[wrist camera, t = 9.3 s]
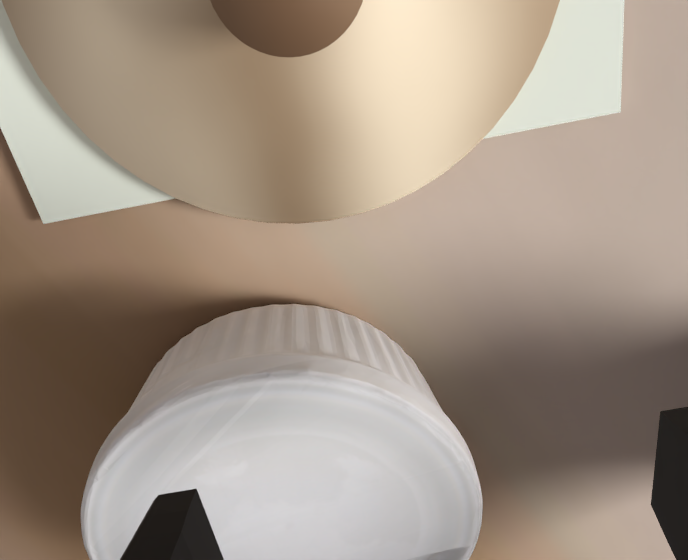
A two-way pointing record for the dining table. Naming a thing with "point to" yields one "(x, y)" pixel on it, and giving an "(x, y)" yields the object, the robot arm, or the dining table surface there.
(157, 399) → the ramekin
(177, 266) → the dining table surface
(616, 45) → the mat
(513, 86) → the lid
